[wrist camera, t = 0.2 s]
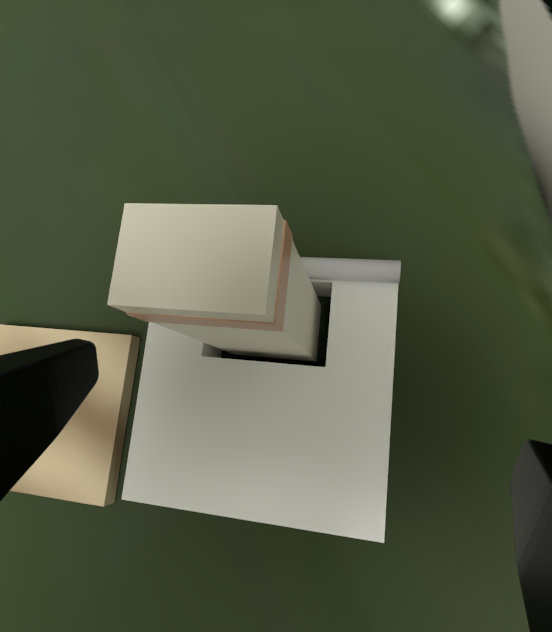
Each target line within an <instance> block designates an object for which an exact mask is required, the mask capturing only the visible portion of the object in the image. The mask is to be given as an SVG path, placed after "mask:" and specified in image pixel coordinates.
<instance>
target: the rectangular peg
mask: <svg viewBox="0 0 552 632" xmlns="http://www.w3.org/2000/svg"><path fill="white" fill-rule="evenodd" d="M292 236H293V235H292V233H291V230H290V228H289V226H288V223H287V221H286V220H283V217H282V215H281V213H280V211H279V208H278V206H277V205H217V204H137V203H125V205H124V211H123V217H122V222H121V228H120V234H119V240H118V245H117V251H116V257H115V263H114V268H113V274H112V280H111V286H110V291H109V297H108V303H107V305H109V306H112V307H114V308H117V309H120V310H122V311H125V312H126V314H127V315H129V316H132V317H134V318H137V319H140V320H142V321H145V322H153V323H155V324H158V325H160V326H163V327H165V328H168V329H170V330H173V331H176V332H178V333H181V334H183V335H186V336H188V337H191V338H193V339H196V340H198V341H201V342H204V343H206V344H209V345H211V346H214V347H216V348H219V349H221V350H224V351H226V352H229V353H232V354H234V355H244V356H256V357H267V358H279V359H291V360H302V361H314V362H317V350H318V339H319V327H320V315H321V304H320V302H319V300H318V297H317V295H316V293H315V291H314V288H313V286H312V284H311V281H310V279H309V277H308V275H307V272H306V270H305V268H304V265H303V263H302V261H301V259H300V256H299V254H298V252H297V249H296V247H295V245H294V243H293V240H292Z"/></svg>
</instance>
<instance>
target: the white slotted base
mask: <svg viewBox="0 0 552 632" xmlns="http://www.w3.org/2000/svg"><path fill="white" fill-rule="evenodd" d="M300 259H301V261H302V263H303V265H304V268H305V270H306V272H307V275H308V277H309V279H310V281H311V284H312V286H313V288H314V291H315V293H316V295H317V296H322V297H331V306H330V318H329V330H328V343H327V355H326V367H317V366H306V365H295V364H283V363H272V362H261V361H249V360H238V359H226V358H221V356H222V350H221V349H219V348H216V347H214V346H211V345H209V344H206V343H204V342H201V341H198V340H196V339H193V338H191V337H188V336H186V335H183V334H181V333H178V332H176V331H173V330H170V329H168V328H165V327H163V326H160V325H158V324H155V323H153V322H149V326H148V332H147V338H146V345H145V351H144V358H143V364H142V371H141V377H140V383H139V390H138V396H137V403H136V409H135V416H134V422H133V428H132V435H131V441H130V448H129V454H128V461H127V467H126V474H125V480H124V486H123V493H122V500H128V501H134V502H140V503H146V504H152V505H158V506H164V507H170V508H176V509H182V510H188V511H194V512H200V513H206V514H212V515H218V516H224V517H230V518H236V519H242V520H248V521H254V522H261V523H267V524H273V525H279V526H285V527H291V528H297V529H303V530H309V531H315V532H321V533H327V534H333V535H339V536H345V537H351V538H357V539H363V540H369V541H375V542H381V543H384V535H385V517H386V499H387V481H388V463H389V445H390V427H391V409H392V391H393V372H394V354H395V336H396V318H397V300H398V283H399V280H400V270H401V261H398V260H371V259H344V258H317V257H300Z"/></svg>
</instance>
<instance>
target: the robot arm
mask: <svg viewBox="0 0 552 632" xmlns="http://www.w3.org/2000/svg"><path fill="white" fill-rule="evenodd" d="M98 377H99V369H98V360H97V351H96V346H95V344H94V343H93V342H91V341H87V340H82V339H71V340H66V341H62V342H57V343H53V344H48V345H44V346H39V347H35V348H30V349H26V350H21V351H17V352H12V353H8V354H3V355H0V501H1V500H2V499H3V498H4V497H5V495H6V494H7V493H8V492H9V491H10V490H11V489H12V488H13V486H14V485H15V484H16V483H17V482H18V481H19V480H20V478H21V477H22V476H23V475H24V474H25V473H26V472H27V471H28V469H29V468H30V467H31V466H32V465H33V464H34V463H35V462H36V460H37V459H38V458H39V457H40V456H41V455H42V454H43V452H44V451H45V450H46V449H47V448H48V447H49V446H50V445H51V443H52V442H53V441H54V440H55V439H56V437H57V436H58V435H59V434H60V432H61V431H62V430H63V428H64V427H65V426H66V424H67V423H68V422H69V420H70V419H71V418H72V416H73V415H74V413H75V412H76V411H77V409H78V408H79V407H80V405H81V404H82V402H83V401H84V400H85V398H86V397H87V396H88V394H89V393H90V391H91V390H92V389H93V387H94V386H95V384H96V383H97V380H98ZM511 498H512V511H513V523H514V536H515V549H516V559H517V568H518V573H519V579H520V584H521V589H522V594H523V599H524V604H525V609H526V614H527V619H528V624H529V629H530V632H552V444H549V443H545V442H540V441H536V440H527V441H526V442H525V443H524V445H523V447H522V449H521V452H520V454H519V457H518V460H517V462H516V465H515V467H514V470H513V473H512V476H511Z"/></svg>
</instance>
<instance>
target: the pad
mask: <svg viewBox="0 0 552 632" xmlns="http://www.w3.org/2000/svg"><path fill="white" fill-rule="evenodd" d="M71 339H82V340H87V341H91V342H93V343H94V344H95V346H96V351H97V360H98V369H99V377H98V380H97V383H96V384H95V386H94V387H93V389H92V390H91V391H90V393H89V394H88V396H87V397H86V398H85V400H84V401H83V402H82V404H81V405H80V407H79V408H78V409H77V411H76V412H75V413H74V415H73V416H72V418H71V419H70V420H69V422H68V423H67V424H66V426H65V427H64V428H63V430H62V431H61V432H60V434H59V435H58V436H57V437H56V439H55V440H54V441H53V442H52V443H51V445H50V446H49V447H48V448H47V449H46V450H45V451H44V452H43V454H42V455H41V456H40V457H39V458H38V459H37V460H36V462H35V463H34V464H33V465H32V466H31V467H30V468H29V469H28V471H27V472H26V473H25V474H24V475H23V476H22V477H21V478H20V480H19V481H18V482H17V483H16V484H15V485H14V486H13V488H12V489H11V490H10V491H15V492H21V493H27V494H33V495H38V496H44V497H50V498H56V499H62V500H68V501H74V502H79V503H85V504H91V505H97V506H103V507H104V506H107V505H109V504H112V503H114V501H115V495H116V489H117V482H118V476H119V470H120V463H121V457H122V451H123V444H124V438H125V432H126V425H127V419H128V413H129V406H130V400H131V394H132V387H133V381H134V375H135V368H136V362H137V356H138V349H139V343H140V338H139V337H136V336H133V335H124V334H111V333H99V332H87V331H74V330H62V329H49V328H37V327H24V326H12V325H0V355H3V354H8V353H12V352H17V351H21V350H26V349H30V348H35V347H39V346H44V345H48V344H53V343H57V342H62V341H66V340H71Z"/></svg>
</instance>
